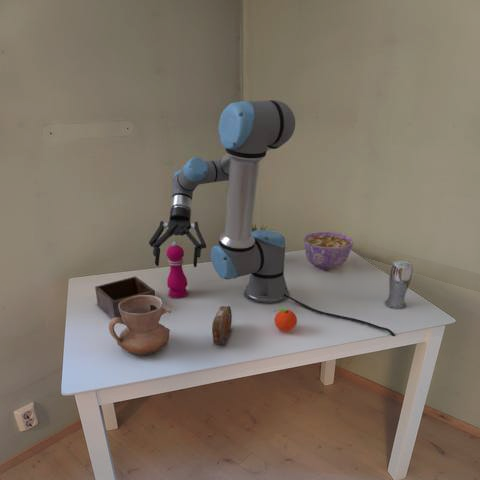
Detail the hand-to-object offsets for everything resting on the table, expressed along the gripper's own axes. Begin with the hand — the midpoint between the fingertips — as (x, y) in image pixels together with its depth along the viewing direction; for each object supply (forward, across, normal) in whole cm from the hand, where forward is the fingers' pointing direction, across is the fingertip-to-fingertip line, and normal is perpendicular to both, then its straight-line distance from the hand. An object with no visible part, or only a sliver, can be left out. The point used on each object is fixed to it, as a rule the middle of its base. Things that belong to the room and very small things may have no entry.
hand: (175, 265), depth 159 cm
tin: (+28, -19, +12) cm, 36 cm away
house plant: (-15, -28, -31) cm, 44 cm away
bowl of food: (-14, -57, -30) cm, 65 cm away
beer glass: (+10, -77, -6) cm, 78 cm away
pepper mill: (+8, 0, -8) cm, 12 cm away
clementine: (+24, -38, +8) cm, 46 cm away
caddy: (+16, +16, 0) cm, 22 cm away
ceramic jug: (+34, +4, +17) cm, 38 cm away
